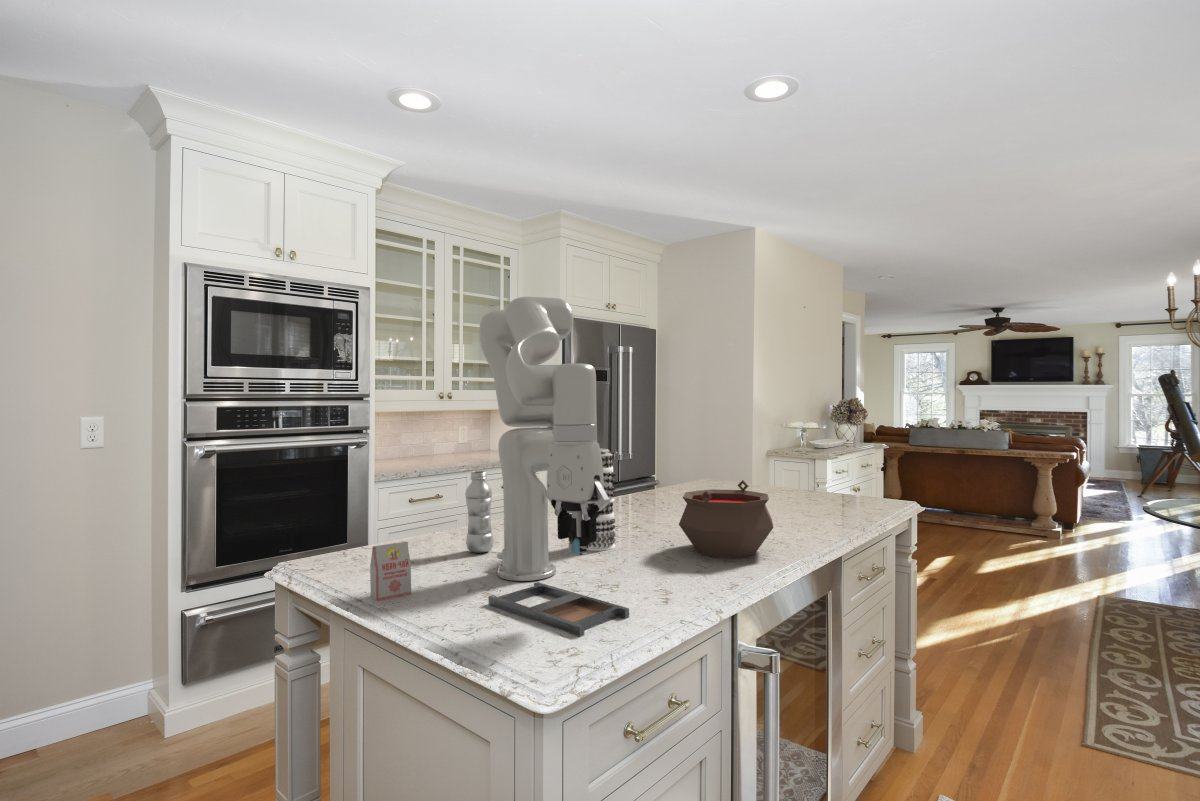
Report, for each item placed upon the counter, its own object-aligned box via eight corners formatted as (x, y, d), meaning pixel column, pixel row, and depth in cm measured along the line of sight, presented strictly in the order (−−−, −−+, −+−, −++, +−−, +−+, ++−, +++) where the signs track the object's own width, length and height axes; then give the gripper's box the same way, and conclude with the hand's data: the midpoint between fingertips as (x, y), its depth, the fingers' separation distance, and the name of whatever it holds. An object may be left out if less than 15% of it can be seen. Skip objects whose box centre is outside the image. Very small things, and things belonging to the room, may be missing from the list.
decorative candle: (589, 552, 155) (587, 451, 155) (575, 545, 164) (574, 448, 163) (622, 548, 159) (621, 449, 159) (607, 541, 167) (606, 447, 167)
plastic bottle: (491, 555, 154) (489, 473, 154) (463, 555, 154) (462, 473, 154) (495, 548, 161) (494, 470, 161) (469, 549, 161) (468, 470, 161)
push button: (599, 555, 107) (598, 496, 107) (569, 558, 105) (567, 498, 105) (587, 547, 113) (586, 491, 113) (559, 550, 111) (557, 493, 111)
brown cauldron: (704, 536, 172) (703, 476, 172) (791, 547, 158) (790, 482, 158) (659, 554, 152) (658, 487, 152) (753, 569, 138) (752, 494, 138)
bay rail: (488, 604, 117) (488, 596, 117) (537, 589, 126) (537, 582, 126) (579, 636, 101) (579, 627, 101) (629, 616, 109) (629, 608, 109)
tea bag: (370, 596, 123) (369, 544, 123) (404, 589, 127) (404, 539, 127) (376, 600, 120) (375, 548, 120) (411, 593, 124) (410, 543, 124)
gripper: (526, 435, 112) (528, 537, 112) (595, 437, 101) (597, 551, 101) (557, 433, 118) (559, 530, 118) (626, 435, 106) (628, 543, 106)
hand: (577, 539), depth 109 cm, fingers closed on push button, 5 cm apart
